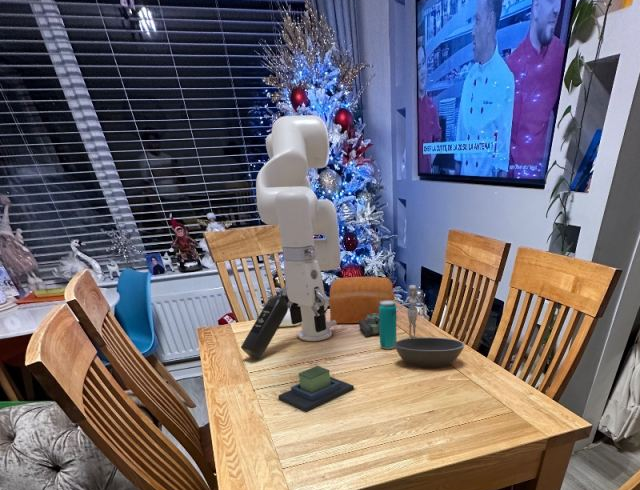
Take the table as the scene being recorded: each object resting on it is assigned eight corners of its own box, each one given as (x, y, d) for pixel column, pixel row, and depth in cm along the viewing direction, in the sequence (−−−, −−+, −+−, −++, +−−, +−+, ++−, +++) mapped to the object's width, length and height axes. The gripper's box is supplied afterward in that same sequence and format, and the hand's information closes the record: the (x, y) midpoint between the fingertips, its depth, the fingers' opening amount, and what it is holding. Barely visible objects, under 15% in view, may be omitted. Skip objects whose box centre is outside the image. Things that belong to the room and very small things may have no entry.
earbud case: (271, 321, 178) (269, 308, 174) (303, 319, 179) (301, 306, 175) (269, 329, 170) (267, 315, 166) (302, 327, 171) (300, 313, 167)
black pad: (326, 378, 131) (325, 369, 129) (353, 389, 125) (353, 380, 123) (278, 399, 121) (276, 390, 119) (306, 411, 114) (304, 402, 113)
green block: (319, 383, 125) (317, 365, 122) (331, 388, 123) (329, 369, 119) (301, 391, 121) (298, 373, 118) (312, 396, 119) (310, 377, 115)
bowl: (463, 371, 132) (465, 351, 129) (392, 370, 135) (392, 350, 131) (462, 356, 142) (464, 337, 138) (396, 355, 144) (396, 337, 140)
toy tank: (383, 326, 169) (383, 307, 165) (392, 335, 160) (392, 316, 156) (358, 329, 167) (357, 310, 163) (366, 338, 158) (365, 319, 154)
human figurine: (396, 341, 155) (395, 287, 144) (395, 337, 158) (394, 284, 147) (429, 339, 156) (431, 285, 144) (427, 336, 159) (429, 283, 147)
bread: (394, 323, 171) (394, 280, 161) (329, 324, 172) (325, 282, 162) (395, 313, 182) (394, 272, 172) (333, 314, 183) (330, 274, 173)
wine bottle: (250, 350, 139) (294, 275, 143) (239, 347, 142) (281, 273, 146) (261, 360, 144) (302, 287, 148) (249, 357, 147) (290, 285, 151)
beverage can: (399, 345, 152) (398, 300, 142) (392, 351, 148) (391, 305, 138) (384, 343, 154) (383, 299, 144) (377, 348, 150) (375, 303, 140)
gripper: (335, 255, 100) (341, 329, 111) (289, 247, 109) (299, 316, 120) (310, 261, 96) (319, 338, 107) (264, 252, 105) (277, 323, 116)
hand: (308, 326), depth 113 cm, fingers open, 9 cm apart
